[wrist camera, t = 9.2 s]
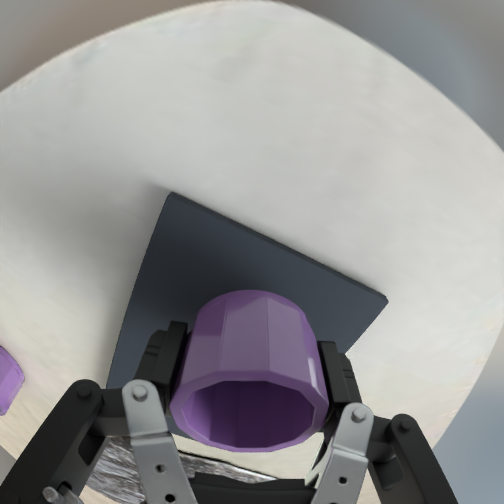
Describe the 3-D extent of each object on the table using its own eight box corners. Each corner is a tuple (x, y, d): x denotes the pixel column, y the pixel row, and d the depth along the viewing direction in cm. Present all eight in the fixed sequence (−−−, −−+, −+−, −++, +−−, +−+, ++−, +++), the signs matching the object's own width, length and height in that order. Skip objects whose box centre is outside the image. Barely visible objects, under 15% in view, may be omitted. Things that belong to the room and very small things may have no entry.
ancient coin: (58, 475, 34) (57, 476, 33) (48, 389, 20) (47, 392, 20) (225, 528, 40) (225, 530, 40) (350, 479, 27) (350, 482, 26)
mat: (171, 191, 13) (167, 194, 12) (385, 295, 15) (389, 302, 15) (104, 399, 20) (101, 405, 19) (239, 447, 22) (239, 452, 22)
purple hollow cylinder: (220, 267, 12) (203, 345, 8) (335, 318, 13) (359, 396, 9) (175, 354, 14) (154, 428, 10) (273, 389, 15) (276, 461, 11)
